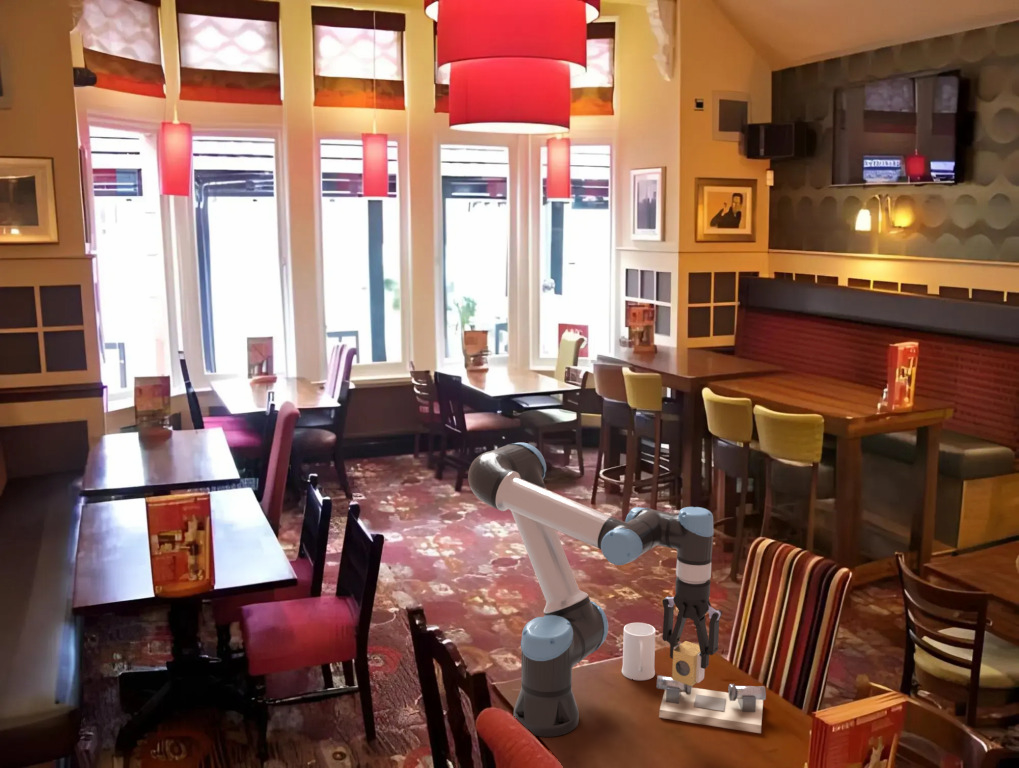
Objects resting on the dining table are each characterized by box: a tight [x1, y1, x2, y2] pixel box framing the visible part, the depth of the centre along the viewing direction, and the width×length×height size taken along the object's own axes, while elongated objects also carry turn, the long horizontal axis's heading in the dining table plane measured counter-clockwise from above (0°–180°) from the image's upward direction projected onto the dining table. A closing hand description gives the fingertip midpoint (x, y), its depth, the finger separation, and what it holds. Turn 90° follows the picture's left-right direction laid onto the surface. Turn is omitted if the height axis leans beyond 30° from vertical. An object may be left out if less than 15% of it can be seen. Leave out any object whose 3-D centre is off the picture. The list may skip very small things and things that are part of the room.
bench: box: [658, 687, 764, 734], centre depth 218 cm, size 23×13×2 cm, turn 73°
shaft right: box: [727, 683, 767, 712], centre depth 217 cm, size 8×5×5 cm, turn 88°
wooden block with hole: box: [671, 640, 700, 687], centre depth 206 cm, size 6×5×7 cm
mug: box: [621, 622, 656, 681], centre depth 235 cm, size 12×8×12 cm
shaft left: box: [656, 675, 693, 704], centre depth 220 cm, size 8×5×5 cm, turn 73°
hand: (688, 676), depth 207 cm, fingers closed on wooden block with hole, 5 cm apart
